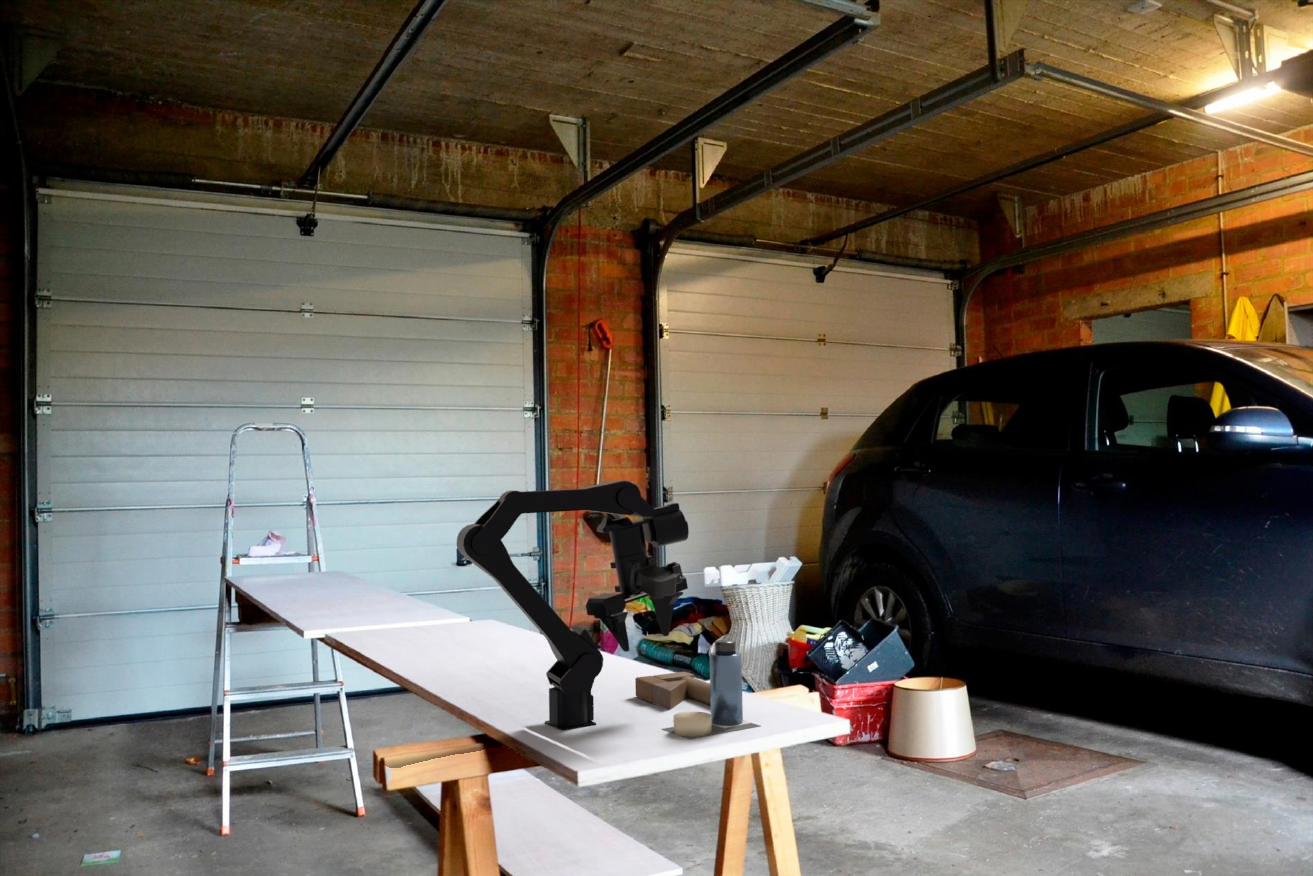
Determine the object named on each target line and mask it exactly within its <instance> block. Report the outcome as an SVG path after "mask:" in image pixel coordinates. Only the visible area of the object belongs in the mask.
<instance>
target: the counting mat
mask: <svg viewBox="0 0 1313 876" xmlns="http://www.w3.org/2000/svg"><path fill="white" fill-rule="evenodd" d="M759 727H761V725H760V724H757V723H753V722H749V721H747V720H744V719H743V723H742V724H739V725H733V726H721V725H715V724H712V733H710V734H708V735H704V736H695V737H690V736H680V735H677V734H675V733H674V726H671V727H665V728H661V730H662V731H664V732H668V733H669V734H670V733H671V734H673V735H676V736H678V737H682V738H684V739H687V740H695V739H700V738H705V737H711V736H716V735H723V734H728V733H732V732H733V733H734V732H739V731H744V730H748V729H754V728H759Z"/></svg>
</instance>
